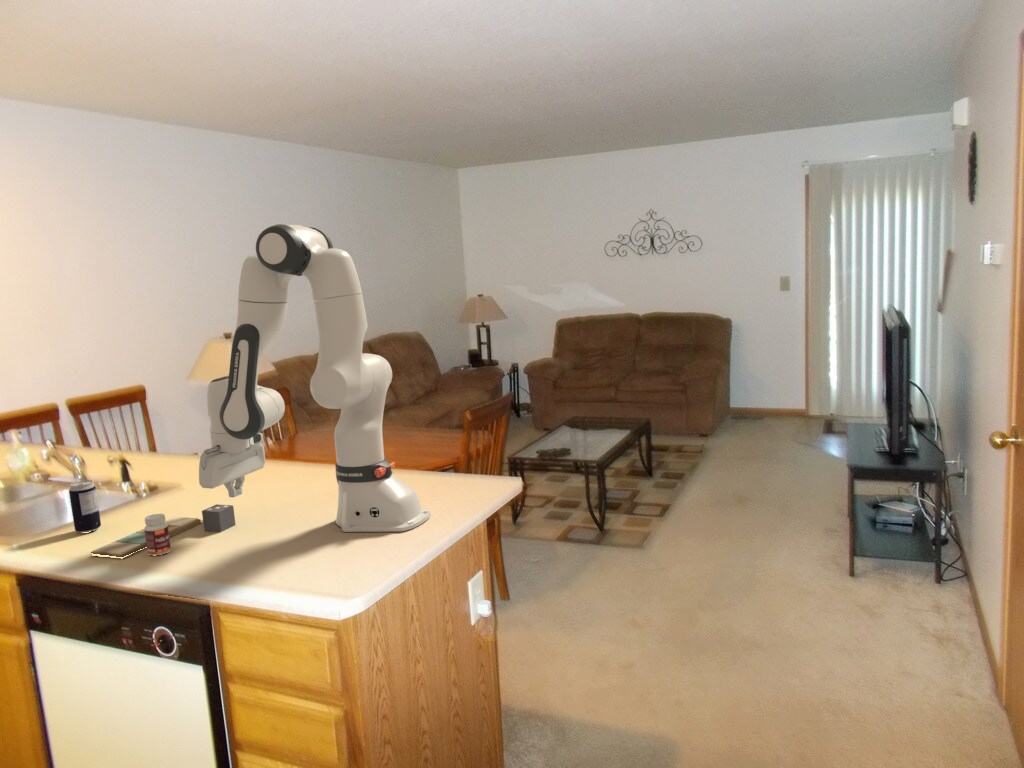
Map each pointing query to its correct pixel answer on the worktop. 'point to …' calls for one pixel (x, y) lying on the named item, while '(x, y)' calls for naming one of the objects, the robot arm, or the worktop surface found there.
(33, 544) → the worktop surface
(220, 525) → the die
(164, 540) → the pill bottle
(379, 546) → the worktop surface
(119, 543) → the board
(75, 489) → the beverage can
